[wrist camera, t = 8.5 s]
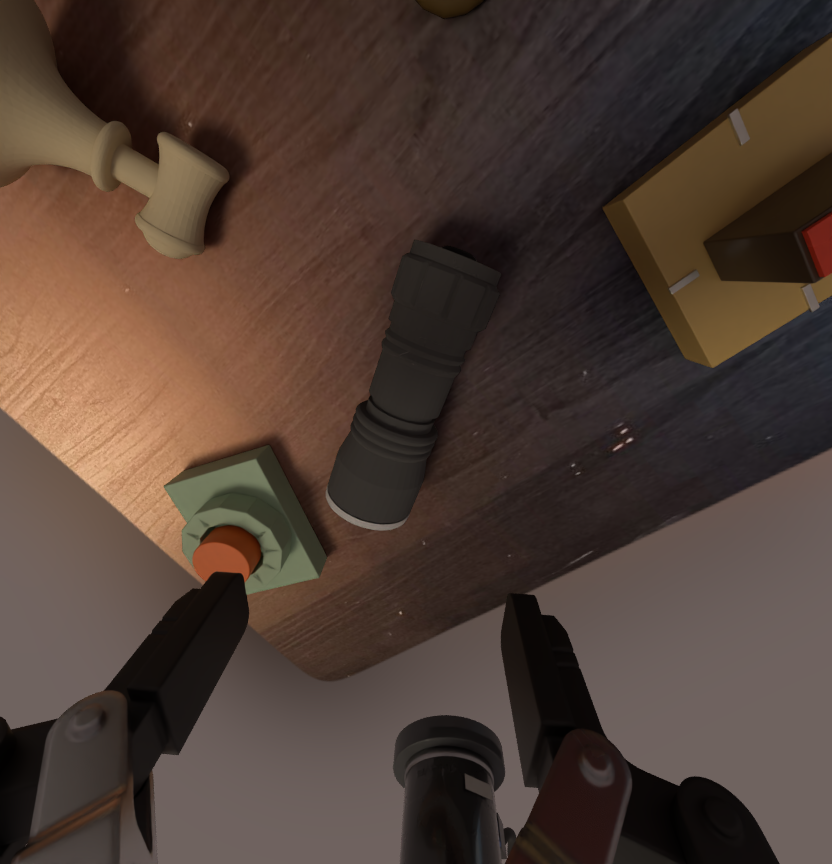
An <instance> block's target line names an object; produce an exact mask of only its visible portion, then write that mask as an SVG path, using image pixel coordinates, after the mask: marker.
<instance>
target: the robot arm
mask: <svg viewBox="0 0 832 864" xmlns="http://www.w3.org/2000/svg"><path fill="white" fill-rule="evenodd" d="M248 618H249V607H248V601H247V595H246V589H245V582H244V577H243V575H242V574H241V573H232V572H218V571H216V572H214V573H213V574H211V576H210V577H209V578H208V580H207V581H206V582H205V584H204V585H203V586H202V588H201V589H192V590H190V591H189V592H188V593H186V594H185V595H184V596H182V597H181V598H180V599H178V600H177V601H176V602H175V603H174V604H173V605H172V606H171V608H170V609H169V610H168V611H167V613H166V614H165V615H164V616H163V619H162V621H159V623H158V624H157V625H156V626H155V628H154V629H153V630H152V633H151V634H149V635H148V636H147V638H146V639H145V640H144V642H143V643H142V644H141V645H140V647H139V648H138V649H137V650H136V652H135V653H134V654H133V655H132V657H131V658H130V659H129V660H128V661H127V663H126V664H125V665H124V666H123V668H122V669H121V670H120V671H119V673H118V674H117V675H116V676H115V678H114V679H113V680H112V682H111V683H110V684H109V685H108V686H107V688H106V689H105V690H104V691H102V692H98V693H95V694H92V695H90V696H88V697H86V698H84V699H82V700H80V701H78V702H77V703H75V704H74V705H73V706H71V707H70V708H69V709H68V710H66V711H65V712H64V713H63V714H62V715H61V716H60V717H59V718H58V719H54V720H50V721H46V722H41V723H37V724H33V725H29V726H25V727H20V728H16V729H12V730H11V729H10V727H9V725H8V724H7V722H6V720H5V719H3V718H2V717H0V864H158V859H157V841H156V821H155V802H154V782H153V772H152V769H153V767H154V766H155V763H156V762H157V760H158V759H159V757H160V755H161V754H172V755H179V753H180V751H181V749H182V747H183V746H184V743H185V742H186V740H187V738H188V736H189V734H190V732H191V731H192V729H193V726H194V725H195V723H196V721H197V719H198V718H199V716H200V714H201V712H202V710H203V708H204V706H205V705H206V703H207V701H208V699H209V697H210V695H211V693H212V691H213V690H214V688H215V686H216V684H217V682H218V680H219V679H220V677H221V675H222V673H223V671H224V669H225V667H226V665H227V663H228V662H229V660H230V658H231V656H232V654H233V653H234V651H235V649H236V647H237V645H238V643H239V641H240V640H241V638H242V635H243V634H244V632H245V629H246V627H247V623H248ZM501 650H502V657H503V663H504V668H505V675H506V680H507V686H508V692H509V698H510V704H511V709H512V715H513V721H514V727H515V733H516V738H517V744H518V750H519V756H520V762H521V768H522V773H523V779H524V785H525V787H534V788H535V787H536V788H538V790H539V795H538V797H537V799H536V802H535V804H534V806H533V809H532V811H531V813H530V816H529V818H528V820H527V822H526V824H525V826H524V827H523V828H522V829H521V831H520V832H519V834H518V836H517V838H516V835H515V832H514V831H513V830H512V829H511V828H505V829H503V824H502V821H501V819H500V817H499V815H498V813H496V804H495V796H494V777H493V770H492V767H491V765H490V764H489V762H488V761H487V760H486V759H485V758H484V757H482V756H481V755H479V754H477V753H475V752H473V751H471V750H468V749H465V748H460V747H454V746H439V747H432V748H428V749H425V750H422V751H420V752H418V753H416V754H415V755H413V756H412V757H411V758H410V759H409V760H408V762H407V764H406V766H405V777H404V781H405V794H404V810H403V822H402V837H401V853H400V864H502V860H501V859H507V860H506V862H505V864H779V862H778V860H777V858H776V856H775V855H774V853H773V851H772V849H771V847H770V845H769V843H768V842H767V840H766V838H765V836H764V834H763V832H762V830H761V829H760V827H759V825H758V823H757V822H756V820H755V818H754V817H753V816H752V814H751V813H750V812H749V810H748V809H747V808H746V807H745V806H744V804H743V803H742V802H741V801H740V800H739V799H738V798H736V796H734V795H733V794H732V793H731V792H730V791H728V790H727V789H726V788H724V787H723V786H721V785H720V784H718V783H716V782H714V781H712V780H709V779H707V778H702V777H695V776H694V777H689V778H686V779H685V780H684V781H682V782H681V784H680V786H678V785H675V784H673V783H671V782H668V781H666V780H664V779H661V778H659V777H656V776H654V775H652V774H650V773H647V772H645V771H643V770H641V769H639V768H637V767H636V766H634V765H633V764H631V763H630V762H628V761H627V760H626V759H625V758H624V757H623V756H622V754H621V753H620V751H619V750H618V749H617V748H616V747H615V745H614V744H612V743H611V742H610V741H609V740H608V739H607V737H606V736H605V734H604V732H603V729H602V727H601V725H600V722H599V719H598V716H597V713H596V711H595V708H594V705H593V702H592V700H591V697H590V694H589V692H588V689H587V686H586V683H585V680H584V678H583V675H582V672H581V670H580V669H579V664H578V661H577V658H576V656H575V654H574V653H573V648H572V645H571V642H570V639H569V637H568V634H567V632H566V630H565V629H564V628H563V626H562V625H561V624H560V623H559V622H558V620H557V619H556V618H555V617H554V616H550V615H541V612H540V609H539V605H538V602H537V599H536V597H535V596H534V595H527V594H513V593H509V594H508V596H507V601H506V607H505V612H504V618H503V624H502V630H501ZM507 842H508V858H507V856H506V847H505V845H506V843H507ZM26 844H27V845H26Z"/></svg>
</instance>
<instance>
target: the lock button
mask: <svg viewBox="0 0 832 864" xmlns="http://www.w3.org/2000/svg"><path fill="white" fill-rule="evenodd" d="M260 558H261V547H260V544H259V542H258V540H257V539H256V538H255V537H254V536H253V535H252V534H251V533H249V532H248V531H246V530H245V529H243V528H241V527H237V526H232V525H225V526H220V527H217V528H215V529H214V530H212V531H211V532H210V534H209V535H208V536H207V537H206V538H205V539H204V540H203V542H202V543H201V544H200V545H199V546H198V547H197V548H196V550H195V551H194V553H193V557H192V562H193V566H194V569H195V571H196V572H197V574H198V575H199V576H200V577H201V578H202V579H203V580H205V581H207V580H208V578H209V577H210V576H211V574H213V573H214V572H216V571H218V572H232V573H241V574H242V575H243V577H244V582H246V581H247V579H248V578H249V576H250V575H251V573H252V572H253V570H254V568H255V567H256V565H257V563H258V562H259V560H260Z"/></svg>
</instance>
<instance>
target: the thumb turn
mask: <svg viewBox="0 0 832 864" xmlns="http://www.w3.org/2000/svg"><path fill="white" fill-rule="evenodd" d="M703 244H704V246H705V248H706V250H707V252H708V254H709V257H710V259H711V261H712V263H713V265H714V267H715V269H716V271H717V273H718V275H719V277H720V280H721V281H739V282H775V283H812V284H813V283H816V282H818V281H820V280H821V279H823V278H824V277H826V276H828V275H830V274H831V273H832V153H830V154H829V155H827V156H826V157H824V158H823V159H821V160H820V161H819V162H817V163H816V164H814V165H813V166H811V167H810V168H809V169H807V170H806V171H804V172H803V173H801V174H800V175H799V176H797V177H796V178H794V179H793V180H791V181H790V182H789V183H787V184H786V185H784V186H783V187H781V188H780V189H779V190H777V191H776V192H774V193H773V194H771V195H770V196H769V197H767V198H766V199H764V200H763V201H761V202H760V203H759V204H757V205H756V206H754V207H753V208H751V209H750V210H749V211H747V212H746V213H744V214H743V215H741V216H740V217H739V218H737V219H736V220H734V221H733V222H731V223H730V224H728V225H727V226H726V227H724V228H723V229H721V230H720V231H718V232H717V233H716V234H714V235H713V236H711V237H710V238H708V239H707V240H706V241H704V242H703Z"/></svg>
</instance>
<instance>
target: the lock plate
mask: <svg viewBox="0 0 832 864" xmlns="http://www.w3.org/2000/svg"><path fill="white" fill-rule="evenodd" d="M830 153H832V32H831V33H830V34H828V35H826V36H825V37H823V38H821V39H820V40H818V41H816V42H815V43H813V44H812V45H810V46H808V47H807V48H805V49H803V50H802V51H801V52H800V53H798V54H797V55H796V56H795V57H793V58H792V59H791V60H789V61H788V62H787V63H786V64H784V65H783V66H782V67H781V68H779V69H778V70H777V71H775V72H774V73H773V74H772V75H770V76H769V77H768V78H767V79H765V80H764V81H763V82H762V83H760V84H759V85H758V86H756V87H755V88H754V89H753V90H751V91H750V92H749V93H748V94H746V95H745V96H744V97H742V98H741V99H740V100H739V101H737V102H736V103H735V104H734V105H732V106H731V107H730V108H728V109H727V110H726V111H725V112H723V113H722V114H721V115H720V116H718V117H717V118H716V119H714V120H713V121H712V122H711V123H709V124H708V125H707V126H706V127H704V128H703V129H702V130H700V131H699V132H698V133H697V134H695V135H694V136H693V137H692V138H690V139H689V140H688V141H687V142H685V143H684V144H683V145H681V146H680V147H679V148H678V149H676V150H675V151H674V152H673V153H671V154H670V155H669V156H667V157H666V158H665V159H664V160H662V161H661V162H660V163H659V164H657V165H656V166H655V167H653V168H652V169H651V170H650V171H648V172H647V173H646V174H645V175H643V176H642V177H641V178H639V179H638V180H637V181H636V182H634V183H633V184H632V185H631V186H629V187H628V188H627V189H625V190H624V191H623V192H622V193H620V194H619V195H618V196H617V197H615V198H614V199H613V200H612V201H610V202H609V203H608V204H606V205H605V206H604V207H603V211H604V212H605V214H606V216H607V218H608V220H609V222H610V223H611V225H612V227H613V229H614V231H615V232H616V234H617V236H618V238H619V240H620V241H621V243H622V245H623V247H624V249H625V251H626V252H627V254H628V256H629V258H630V260H631V261H632V263H633V265H634V267H635V269H636V270H637V272H638V274H639V276H640V278H641V280H642V281H643V283H644V285H645V287H646V289H647V290H648V292H649V294H650V296H651V298H652V299H653V301H654V303H655V305H656V307H657V309H658V310H659V312H660V314H661V316H662V318H663V319H664V321H665V323H666V325H667V327H668V328H669V330H670V332H671V334H672V336H673V338H674V339H675V341H676V343H677V345H678V347H679V348H680V350H681V352H682V354H683V356H684V357H685V359H688V360H691V361H694V362H696V363H699V364H702V365H705V366H708V367H711V368H714V367H715V366H717V365H718V364H720V363H722V362H723V361H725V360H727V359H728V358H730V357H732V356H733V355H735V354H737V353H738V352H740V351H741V350H743V349H745V348H746V347H748V346H750V345H751V344H753V343H755V342H756V341H758V340H759V339H761V338H763V337H764V336H766V335H768V334H769V333H771V332H773V331H774V330H776V329H777V328H779V327H781V326H782V325H784V324H786V323H787V322H789V321H791V320H792V319H794V318H796V317H797V316H799V315H800V314H802V313H804V312H805V311H807V310H809V311H810V312H813V311H815V310H816V309H818V308H820V306H819V304H818V303H820V302H822V301H823V300H825V299H827V298H828V297H830V296H832V273H831V274H830V275H828V276H826V277H824V278H823V279H821V280H820V281H818V282H816V283H813V284H812V283H775V282H739V281H721V280H720V277H719V275H718V273H717V271H716V269H715V267H714V265H713V263H712V261H711V259H710V257H709V254H708V252H707V250H706V248H705V246H704V244H703V242H704V241H706V240H707V239H708V238H710V237H711V236H713V235H714V234H716V233H717V232H718V231H720V230H721V229H723V228H724V227H726V226H727V225H728V224H730V223H731V222H733V221H734V220H736V219H737V218H739V217H740V216H741V215H743V214H744V213H746V212H747V211H749V210H750V209H751V208H753V207H754V206H756V205H757V204H759V203H760V202H761V201H763V200H764V199H766V198H767V197H769V196H770V195H771V194H773V193H774V192H776V191H777V190H779V189H780V188H781V187H783V186H784V185H786V184H787V183H789V182H790V181H791V180H793V179H794V178H796V177H797V176H799V175H800V174H801V173H803V172H804V171H806V170H807V169H809V168H810V167H811V166H813V165H814V164H816V163H817V162H819V161H820V160H821V159H823V158H824V157H826V156H827V155H829V154H830Z"/></svg>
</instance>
